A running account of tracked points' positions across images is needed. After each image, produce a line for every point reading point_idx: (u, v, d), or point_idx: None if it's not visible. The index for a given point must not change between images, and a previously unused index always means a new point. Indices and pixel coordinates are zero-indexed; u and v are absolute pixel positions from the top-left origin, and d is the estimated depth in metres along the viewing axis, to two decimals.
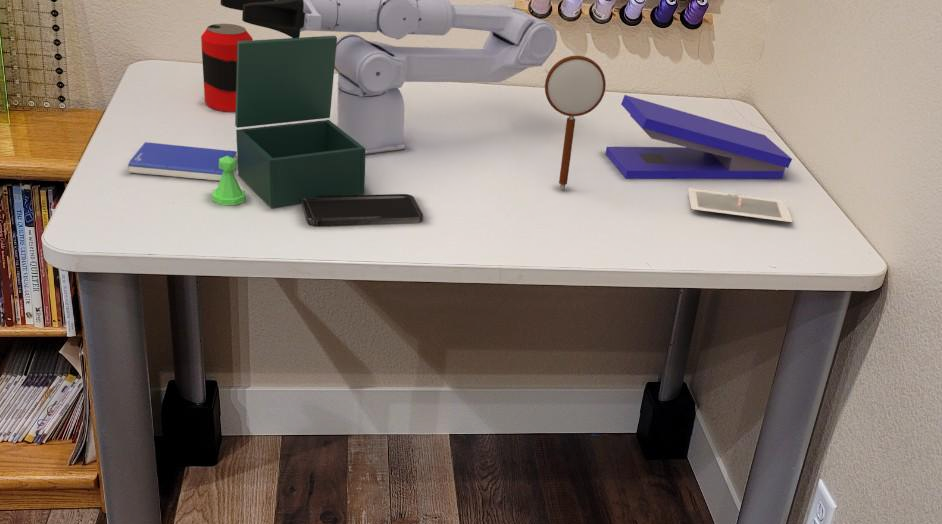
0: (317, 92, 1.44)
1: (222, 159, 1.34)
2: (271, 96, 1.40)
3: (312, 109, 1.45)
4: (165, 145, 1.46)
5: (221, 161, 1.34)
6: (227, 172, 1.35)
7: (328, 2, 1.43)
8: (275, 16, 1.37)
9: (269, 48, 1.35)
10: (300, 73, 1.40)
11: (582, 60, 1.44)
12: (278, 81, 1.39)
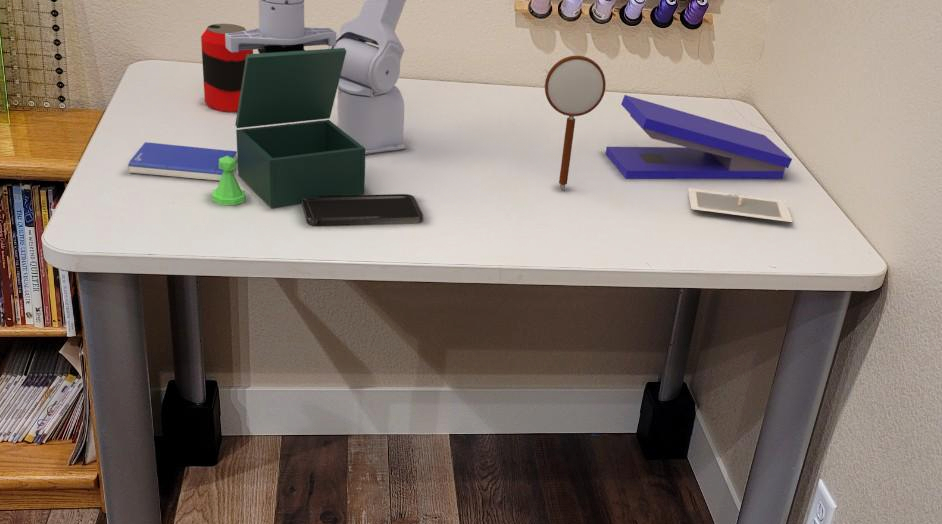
0: (320, 97, 1.43)
1: (222, 159, 1.34)
2: (274, 101, 1.40)
3: (313, 111, 1.45)
4: (165, 145, 1.46)
5: (221, 161, 1.34)
6: (227, 172, 1.35)
7: None
8: None
9: (277, 61, 1.34)
10: (306, 82, 1.40)
11: (582, 60, 1.44)
12: (283, 89, 1.39)
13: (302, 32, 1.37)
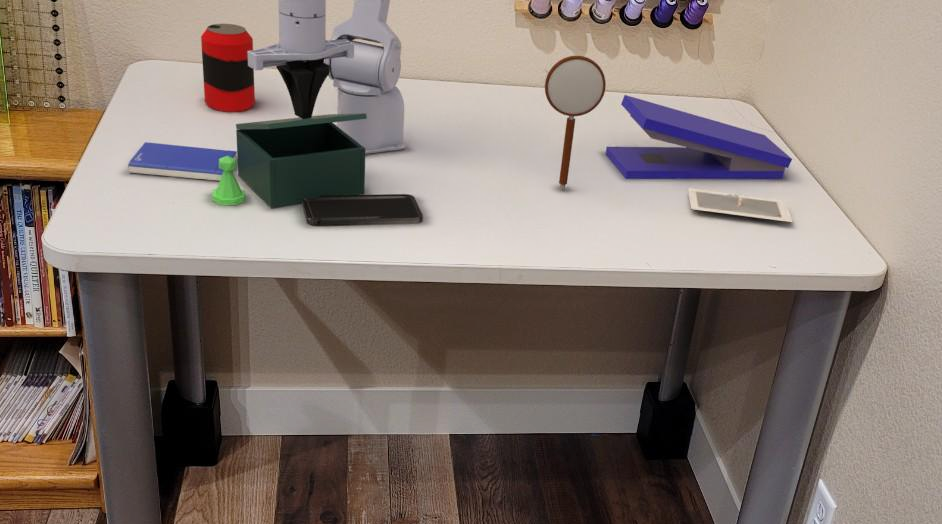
0: None
1: (222, 159, 1.34)
2: None
3: None
4: (165, 145, 1.46)
5: (221, 161, 1.34)
6: (227, 172, 1.35)
7: (279, 20, 1.31)
8: None
9: None
10: None
11: (582, 60, 1.44)
12: None
13: (324, 45, 1.33)
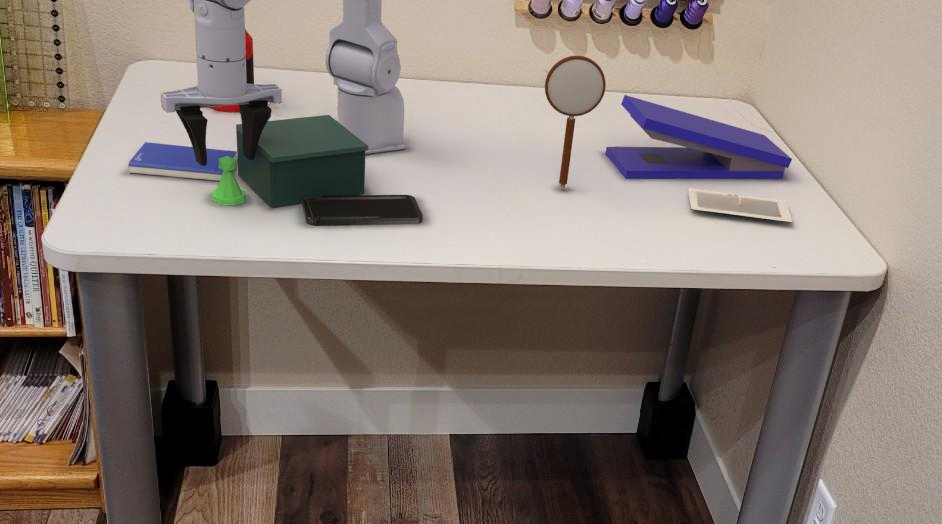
0: None
1: (222, 159, 1.34)
2: None
3: None
4: (165, 145, 1.46)
5: (221, 161, 1.34)
6: (227, 172, 1.35)
7: None
8: None
9: None
10: None
11: (582, 60, 1.44)
12: None
13: (244, 90, 1.29)
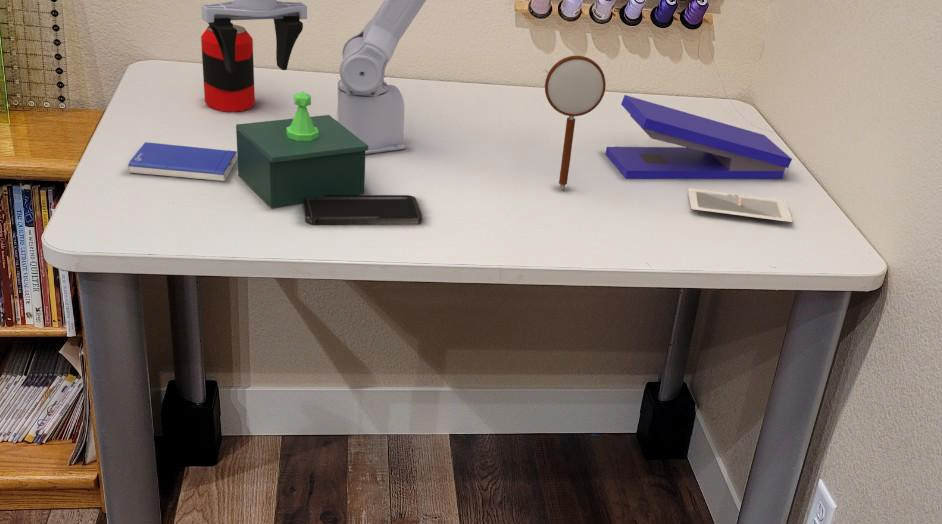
0: None
1: (298, 95, 1.37)
2: None
3: None
4: (165, 145, 1.46)
5: (297, 97, 1.36)
6: (303, 108, 1.37)
7: None
8: None
9: None
10: None
11: (582, 60, 1.44)
12: None
13: (274, 5, 1.46)
